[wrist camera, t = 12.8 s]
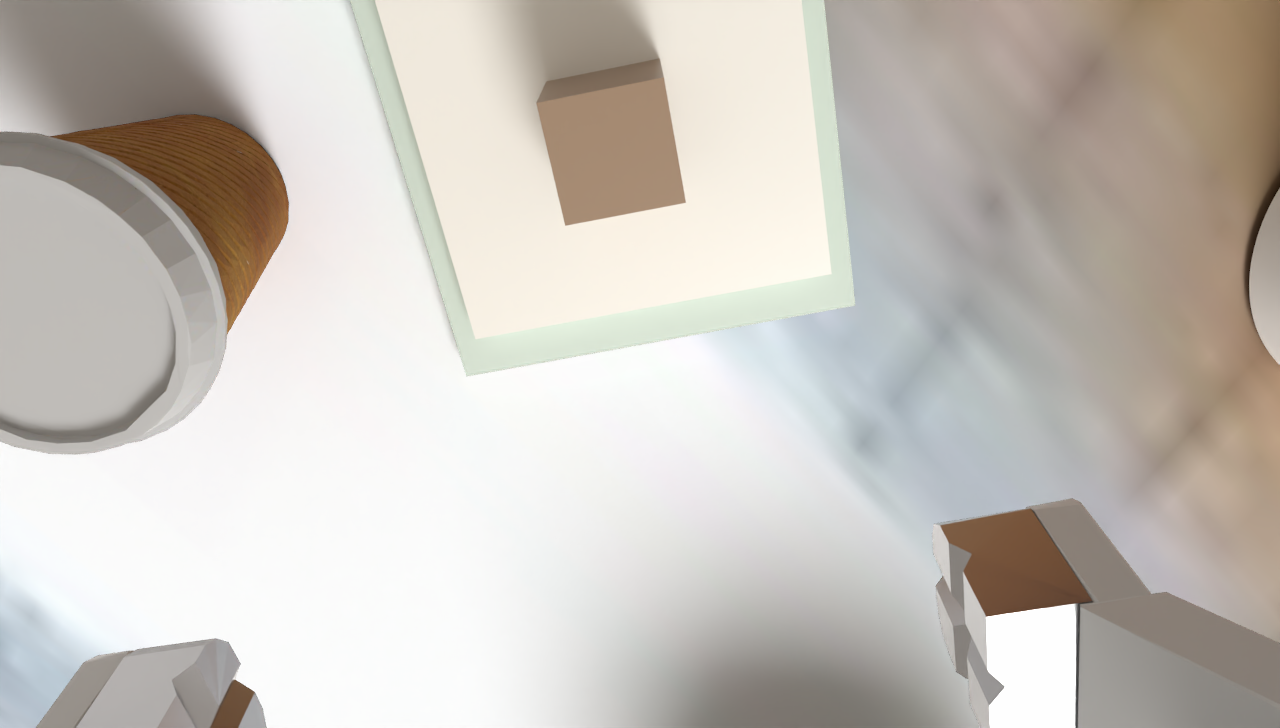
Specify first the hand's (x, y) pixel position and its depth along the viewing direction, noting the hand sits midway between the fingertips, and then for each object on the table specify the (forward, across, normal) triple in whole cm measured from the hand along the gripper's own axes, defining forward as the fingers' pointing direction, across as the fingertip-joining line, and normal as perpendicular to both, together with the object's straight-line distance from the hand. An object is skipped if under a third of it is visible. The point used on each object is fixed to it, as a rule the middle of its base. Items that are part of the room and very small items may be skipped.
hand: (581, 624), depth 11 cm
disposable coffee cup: (+27, +16, 0) cm, 32 cm away
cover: (+26, 0, 0) cm, 26 cm away
